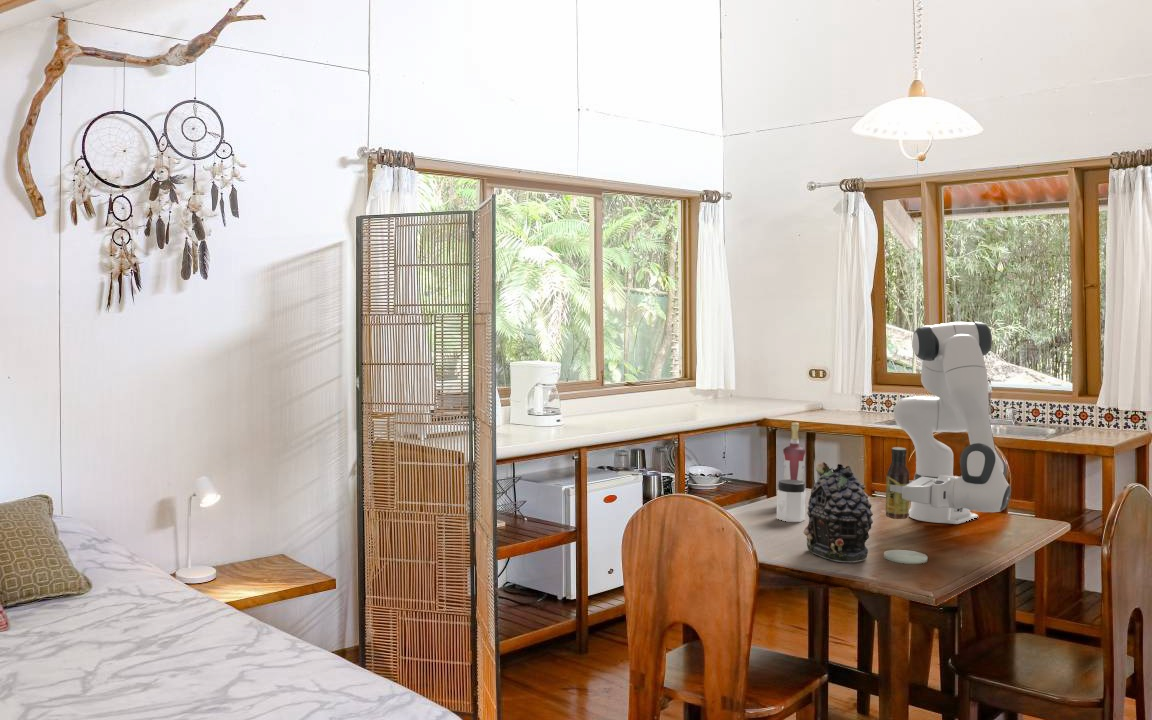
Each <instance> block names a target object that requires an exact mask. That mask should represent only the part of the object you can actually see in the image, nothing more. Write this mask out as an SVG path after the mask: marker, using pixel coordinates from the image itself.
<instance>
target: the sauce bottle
mask: <svg viewBox="0 0 1152 720" xmlns="http://www.w3.org/2000/svg"><path fill="white" fill-rule="evenodd" d="M890 451H891V452H890V453H891V461H890V462H891V463H890V465H889V467H888V471H887V473H886V477H885V478H886V481H885V484H886V485H885V516H886V517H888V518H890V519H894V520H905V519H907V518H908V517H909V513H908V512H909V510H910V507H909V506H910V505H909V504H910V501H907V500H904V499H903V498H902V494H901V493H898V492H893V491H890V485H892V484H894V485H900V486H905V485H907V484H909V483H910V482H909V481H910V471H909V469H908V467H907V466H906V464H907V463H906V462H907V461H906V457H907V452H908V451H907V448H906V447H902V446H901V447H900V446H895V447H892V448H891V450H890Z"/></svg>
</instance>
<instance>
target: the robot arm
mask: <svg viewBox="0 0 1152 720" xmlns="http://www.w3.org/2000/svg"><path fill="white" fill-rule="evenodd" d="M911 341H912V342H911V345H912V350H913V353H914V355H915V357H916V358H918V359H919V360H922V361H921V362H922V363H921V371H920V382H921V384H922V386H923V388H924V389H925V390H926V391H927V392H928V393H930V394H932V395H934V396H923V395H922V396H917V395H916V396H915V395H914V396H907V397H901V398H900V399H899V400H898V401H897V402H896V403H895V405H894V408H893V418H894V421H895V424H897V426H898V427H899V428H901V429H902V430H903V431H904V432H905V433H906V434H907V435H908V436H909V437H910V440H911V441H912V444H913V446H914V450H915V465H916V466H915V473H914V477H913V480H909V482H910V483H909V484H907V485H905V486H900V485H894V484H892V485H890V491H893V492H898V493H901V494H902V498H903V499H904V500H907V501H909V502H910V507H909V512H908V517H910V518H911V519H914V520H916V521H921V522H927V523H938V524H951V525H952V524H953V525H959V524H963V523H967V522H969V520H970V521H972V520H971V519H973V520H975V519H974V518H977V517H978V518H979V515H978V514H977V513H973V511H974V512H980V513H981V512H982V513H999V512H1000V513H1001V512H1002V511H1003V510H1005V509H1006V508H1007V506H1008V504H1009V502H1010V499H1011V493H1012V488H1011V487H1012V486H1011V485H1010V484H1009V483H1008V481H1007V479H1006V477H1007V472H1008V470H1007V465H1006V463H1005V462H1004V459H1003V458H1002V456H1001V455H1000V454H999V452H998V451H997V448H996V445H995V440H994V435H993V430H992V426H991V425H992V424H991V421H990V414H989V412H990V411H989V410H990V409H989V381H988V379H989V378H988V371H987V366H986V362H985V358H984V357H985V356H987V354H989V353H990V351H991V349H992V345H993V335H992V332H991V329H990V327H989V325H987V323H985V322H981V321H972V322H970V321H969V322H968V321H950V322H946V323H940V324H939V323H938V324H933V325H932V324H931V325H929V324H927V325H925V324H924V325H921V326H919V327H917V328H916V329H915V331H914V332H913V335H912V339H911ZM934 432H938V433H939V432H942V433H943V432H944V433H963V432H967V435H968V440H969V441H968V442H969V445H968V446H966V447H965V448H964V449H963V450H962V452H961V454H960V456H959V457H960V458H959V464H960V473H961V475H960V476H958V475H954V452H953V450H952V448H951V447H950V446H948V445H947V444H945V443H943V442H942V441H939V440H937V439H936V438H935V437H934ZM971 511H972V512H971ZM978 518H977V519H978ZM966 521H967V522H966Z"/></svg>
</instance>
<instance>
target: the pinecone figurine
mask: <svg viewBox="0 0 1152 720" xmlns="http://www.w3.org/2000/svg"><path fill="white" fill-rule="evenodd" d="M815 471H816V482H814V484H813V487H812V488H811V489H810V496H809V499H808V506H807V511H806V514H807V515H808V524H807V526H806V527H805V528H804V530H803V531H802V533H803V534H804V535H805V536H806V547H807V550H808V551H809V552H810V553H812V554H815V555H817V556H819V557H821V558H823V559H828V560H830V561H834V562H837V563H857V562H862V561H866V560H867V557H868V553H869V549H868V547H867V546H866V542H867V540H869V538H870V535H869V531H870V530H871V529H872V524H873V523H874V520H873V519H872V517H873V515H874V513H873V511H872V510H871V509H872V503H871V502H870V501H869V495H868V494H867V493H866V492H865V489H866V485H864V484H862V483H861V482H860V481H859V479H858V478H857V477H856V476H855V474H854V472H852V468H851V467H850V466H849V465H847V466H845V467H844V465H843V464H842V463H840V464H839V463H838V464H837V467H836V468H835V469H834V468H833V467H832V468H830V466H829V465H828V464H827V463H826V462H824V461H821V462H819V463H818V464H816V466H815Z"/></svg>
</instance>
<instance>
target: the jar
mask: <svg viewBox="0 0 1152 720" xmlns="http://www.w3.org/2000/svg"><path fill="white" fill-rule="evenodd" d="M776 492H777V493H776V519H777V520H778V519H779V521H781V520H782V521H783V522H785V521H786V523H801V522H803V521H805V520H806V501H807V500H806V499H807V498H806V497H807V490H806V482H805V481H804V480H803V481H799V480H784V479H780V480H779V481H778V489H777V490H776Z"/></svg>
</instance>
